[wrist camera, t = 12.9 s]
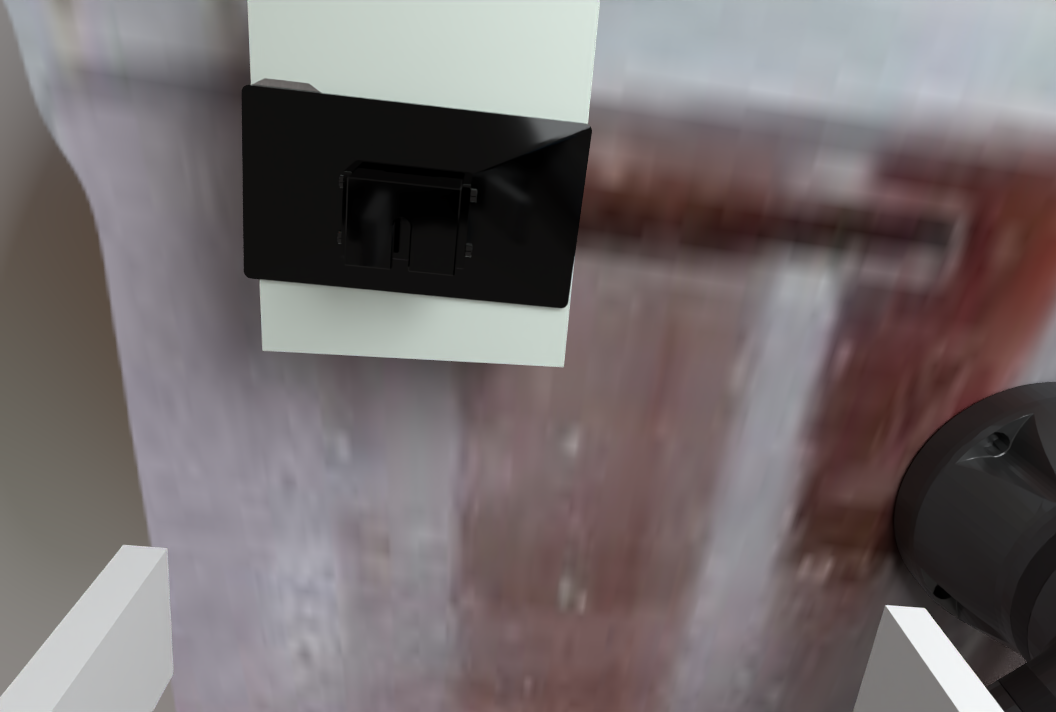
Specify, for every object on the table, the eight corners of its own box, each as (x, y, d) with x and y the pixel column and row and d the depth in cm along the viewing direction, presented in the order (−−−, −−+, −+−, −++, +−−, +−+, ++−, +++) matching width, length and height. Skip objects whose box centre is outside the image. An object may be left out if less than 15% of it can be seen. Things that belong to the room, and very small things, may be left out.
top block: (587, -30, 32) (604, -42, 28) (554, 326, 38) (563, 367, 33) (280, -57, 31) (243, -75, 27) (291, 311, 37) (262, 350, 32)
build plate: (246, 275, 31) (206, 313, 27) (244, 75, 28) (200, 82, 24) (566, 307, 32) (577, 348, 28) (593, 116, 29) (610, 129, 25)
